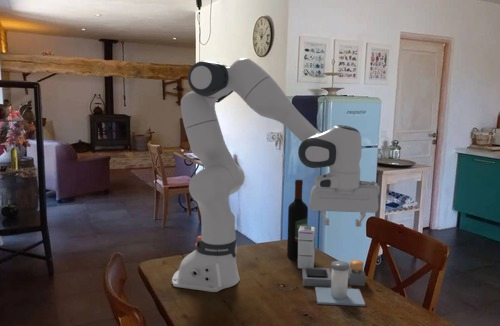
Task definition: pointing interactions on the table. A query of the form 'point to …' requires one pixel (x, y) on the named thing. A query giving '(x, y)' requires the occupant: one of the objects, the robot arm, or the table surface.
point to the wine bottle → (296, 220)
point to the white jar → (339, 279)
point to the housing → (329, 277)
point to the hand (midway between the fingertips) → (342, 225)
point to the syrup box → (306, 246)
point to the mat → (351, 299)
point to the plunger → (356, 265)
